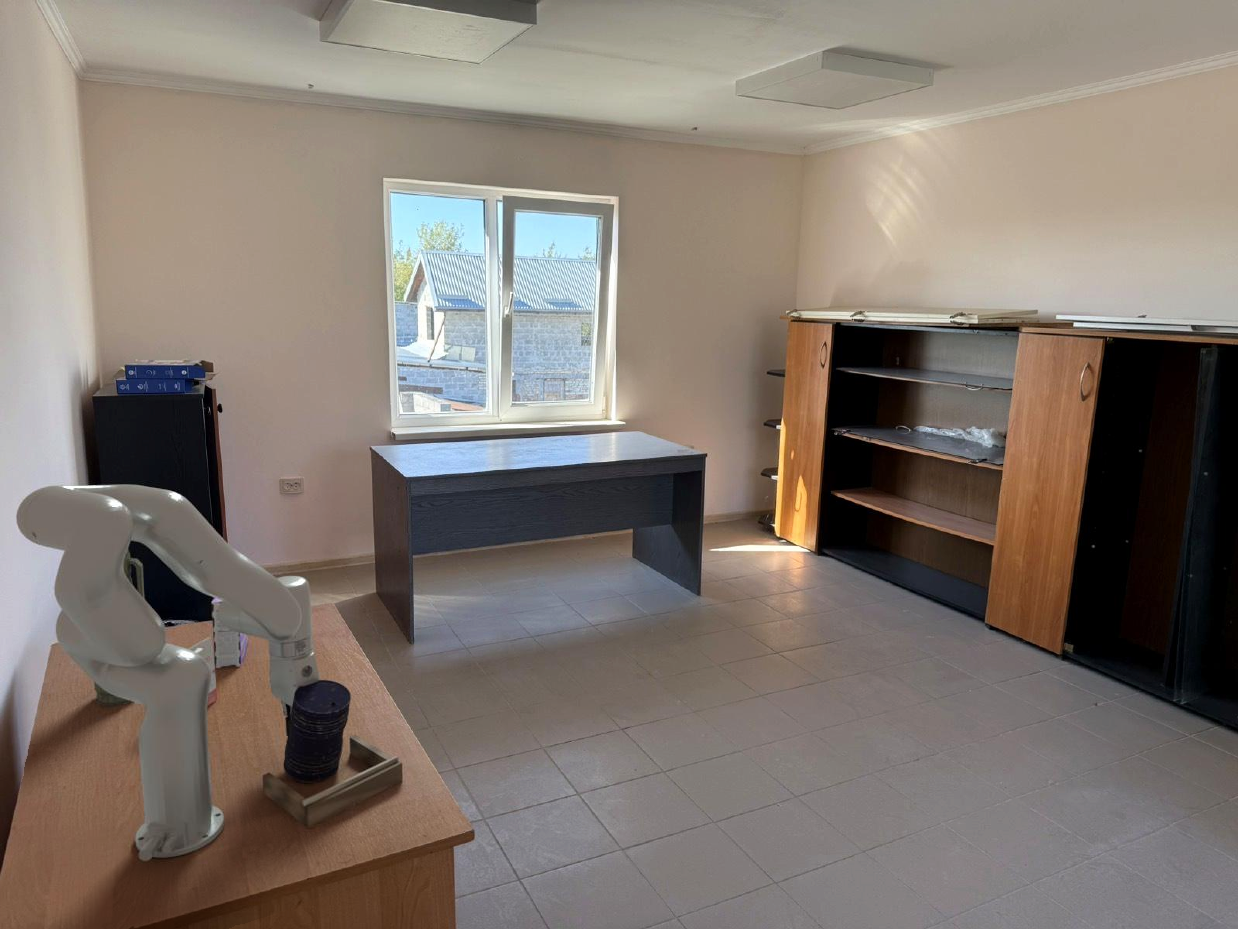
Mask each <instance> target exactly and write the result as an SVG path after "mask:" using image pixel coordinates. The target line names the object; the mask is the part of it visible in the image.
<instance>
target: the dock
mask: <svg viewBox="0 0 1238 929" xmlns="http://www.w3.org/2000/svg"><path fill="white" fill-rule="evenodd" d="M349 755H350V756H353V757H354V758H356V759H357V760H359V761H361V762H362V763H364V764H366V765H367V766H369V768H368V769H366V770H364V771H361V772H359V773H357V774H355V775H353V776H351V777H349V778H347V779H345V780H344V781H341V782H339V783H337V784H334V785H333V786H331V787H328V788H326V789H323V791H320V792H318V793H316V794H314V795H312V796H310V797H308V798H306V797H304V796H303V795H301V794H300V793H299V792H297V791H295V790H294V789H292V788H291V787H290V786H289V785H287V784H286V783H285V782H283V781H282V780H281V779H279V778H278V777H276V776H275V775H273V774H272V773H271V772H266V773H265V774H263V775H262V784H263V785H262V786H263V791H262V792H263V794H264V795H265V796H266V797H268V798H269V800H272V801H273V802H274V803H276V804H277V805H278V807H281V808H282V809H283V810H285V811H286V812H287V813H289V814H290V815H291V816H292V817H294V818H295V819H296V820H298V821H299V822H300V823H302V824H303V825H304V826H305V827H307V828H308V829H311V828H314V827H315V826H317V825H319V824H321V823H322V822H323V823H324V822H325V821H327V820H329V819H330V818H332V817H335V816H336V814H337V815H338V814H340V813H342V812H344V811H346V810H348V809H350V808H352V807H354V806H355V805H354V804H356V805H358V804H360V803H362V802H364V801H366V800H367V798H368V799H369V797H370V798H372V797H374V796H375V795H378V794H379V793H381V792H383V791H385V790H387V789H389V788H391V787H393V786H394V784H395V785H396V784H399V783H401V782H402V780H403V762H402V761H400V760H399V756H398V755H395V756H391V755H390V754H388V753H386V752H384V750H381V748H380V749H379V748H378V747H376V746H374V745H373V744H371V743H370V742H368V741H366V740H365V739H363V738H361V737H359V736H358V735H357V734H354V735H352V736H350V737H349ZM388 787H389V788H388ZM361 801H362V802H361ZM359 802H360V803H359ZM357 803H358V804H357ZM353 805H354V806H353ZM351 806H352V807H351ZM349 807H350V808H349ZM347 808H348V809H347ZM345 809H346V810H345ZM341 811H342V812H341Z"/></svg>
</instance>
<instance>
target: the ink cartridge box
mask: <svg viewBox="0 0 1238 929" xmlns="http://www.w3.org/2000/svg"><path fill="white" fill-rule="evenodd" d="M188 649H189V650H192V651H194V652H196V653H197V654H199V655H200V656H201V657H203V658H204V659H205V661H206V662H207V664H208V665H209V668H210V672H211V683H210V689H209V695H208V702H207V708H208V707H210V705H212V704H214V703H215V702H216V701H217V700H218V695H217V681H216V679H217V678H216V668H215V656H214V646H213V642H212V637H211V636H208V637H207V638H205V639H203V640H201V641H200V642H197V643H196V644H194V645H192V646H191V647H189V648H188Z"/></svg>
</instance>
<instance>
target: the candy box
mask: <svg viewBox="0 0 1238 929" xmlns="http://www.w3.org/2000/svg"><path fill="white" fill-rule="evenodd" d="M221 602H222V600H219V599H217V598H214V597H212V601H211V604H210V605H211V617H212V634H213V635H212V636H213V651H214V664H215V669H226V668H238V667H242V665H243V662H244V659H245V655H246V653H247V652H246V651H247V648H248V645H249V635H246V634H242V633H238V632H234V631H231V630H229V629H227V628H226V627H224V626H223V625H222V624H221V623H220V621H219V618H218V608H219V606H220V604H221Z"/></svg>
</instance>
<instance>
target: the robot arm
mask: <svg viewBox="0 0 1238 929" xmlns="http://www.w3.org/2000/svg"><path fill="white" fill-rule="evenodd" d="M15 517H16V525H17V528H18V529H19V531H20V533H21V534H22V535H23V537H25V539H27V540H29V541H30V542H32V543H33V544H36V545H38V546H42V547H46V548H49V549H55V550H58V551H59V550H60V551H63V554H62V557H61V559H60V562H59V566H58V569H57V571H56V573H57V574H56V576H55V581H54V587H53V588H54V596H55V599H56V602H57V604H58V606H59V607H60V609H61V610H60V612H59V613H58V615H57V616H58V617H57V619H56V624H55V636H56V640H57V642H58V644H59V646H60V648H61V649H62V651H64V653H65V654H66V655H67V656H68V657H69V658H70V659H71V660H72V661H73V662H74V663H75V664H76V665H77V667H79V668H80V669H81V670H82V671H83V672H84V673H85V674H86V675H87V676H88V677H89V678H90V679H91V681H93V682H95V683H96V684H97V685H99V686H100V687H101V688H102V689H103V690H105V691H106V692H108V693H110V694H112V695H114V696H117V697H120V698H123V699H127V700H130V701H132V702H133V703H134V704H135V703H136V704H138V705H141V706H143V707H144V708H145V717H144V719H143V722H142V724H141V725H140V728H139V732H138V752H139V761H140V774H141V786H142V795H143V796H142V798H143V808H144V809H143V810H144V823H143V824H141V825H140V827H139V828H138V829H137V831H136V834H135V836H134V837H135V838H134V839H135V847H136V848H137V850H138V851H139V852H138V858H139V859H140V860H141V861H142V862H145V861H146V862H147V861H150V860H151V859H152V858H160V859H161V858H162V859H163V858H164V859H165V858H173V857H178V856H183V855H186V854H189V853H193V852H194V851H197V850H200V849H201V848H203V847H205V846H206V845H208V844H209V843H211V842H212V841H213V840H215V839H217V837H218V836H219V835H220V834H221V832H222V831H223V829H224V825H225V815H224V813H223V811H222V810H221V809H220V808H218V807H217V806H215V805H213V793H212V778H211V776H212V775H211V765H210V764H211V763H210V750H209V748H210V747H209V734H208V707H207V702H208V695H209V689H210V683H211V672H210V668H209V665H208V664H207V662H206V661H205V659H204V658H203V657H201V656H200V655H199V654H197V653H196V652H194V651H192V650H189V648H186V647H183V646H179V645H176V644H172V643H168V642H167V639H168V638H167V637H168V636H167V635H168V634H167V628H166V626H165V624H164V622H163V620H162V619H161V616H160V615H159V614H158V613H157V612H156V611H155V609H154V608H152V606H151V605H150V604H149V603H148V601H147V600H146V598H145V599H144V598H143V597H142V596H141V595H140V594H139V592H138V589H136V587H135V586H134V584H133V583H132V584H133V585H132V584H131V582H130V581H129V580H128V578H127V577H126V575H125V573H124V567H123V565H124V558H125V555H126V552H127V549H128V548H129V546H130V544H131V542H132V541H133V542H138V543H141V544H142V545H145V547H147V548H148V549H150V551H152V552H153V553H154V555H156V557H158V558H159V559H160V560H161V561H162V562H163V563H164V564H165V565H166V566H167V567H168V568H169V569H170V570H171V571H172V572H173V573H174V574H175V575H176V576H177V577H178V578H179V579H180V580H181V581H182V582H183V583H184V584H186V585H187V586H189V587H191V588H193V589H194V590H196V591H198V592H200V593H201V594H205V595H206V596H210V597H212V598H217V599H219V600H222V602H221V604H220V606H219V608H218V618H219V621H220V623H221V624H222V625H223V626H224V627H226V628H227V629H229V630H231V631H234V632H238V633H242V634H246V635H248V636H249V637H250V636H252V637H256V638H259V639H263V640H267V641H268V653H269V684H270V685H269V686H270V692H271V694H272V696H274V697H275V698H276V699H278V700H279V701H280V703H281V705H282V710H283V711H282V712H283V715H284V716H285V719H284V720H285V733H286V737H288V735H289V734H290V727H291V724H290V715H291V708H292V704H293V700H294V693H295V691H296V690H297V688H298V687H299V686H306V685H309V684H312V683H315V682H317V681H318V680H321V678H320V674H319V673H320V672H319V668H318V662H317V658H316V655H315V652H314V639H313V638H314V636H313V620H312V604H311V600H312V599H311V587H310V586H311V585H310V583H309V581H308V580H307V579H306V578H304V577H303V576H299V575H286V576H285V575H284V576H281V577H275V576H274V575H273V574H272V573H270V572H269V571H268V570H266V569H265V568H263V567H262V566H260V565H259V564H257V563H256V562H254V561H253V560H251V559H250V558H249V557H247V556H246V555H244V554H242V553H241V552H240V551H238V550H236V549H235V548H233V547H232V546H231V545H230V544H229V543H228V542H227V541H226V540H225V539H224V538H223V537H222V536H221V534H219V533H218V532H217V531H216V529H215V528H214V527H213V526H212V525H211V524H210V523H209V521H208V520H207V519H206V518H205V517H204V516H203V515H202V513H201V512H200V511H199V510H198V509H197V508H196V507H195V506H194V505H193V504H192V502H190V501H189V500H188V499H187V498H186V497H185V496H183V495H182V494H180V493H177V492H176V491H172V490H170V489H169V490H168V489H162V488H158V487H157V488H156V487H151V486H150V487H149V486H146V485H145V486H144V485H139V484H97V485H95V484H94V485H93V484H92V485H87V484H86V485H84V484H83V485H76V484H75V485H49V486H45V487H41V488H39V489H36V490H34V491H32V492H31V493H29V494H28V495H27V496H26V497H25V498H23V500H22V502H20V504H19V506H18V508H17V511H16V516H15ZM133 586H134V587H133Z"/></svg>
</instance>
